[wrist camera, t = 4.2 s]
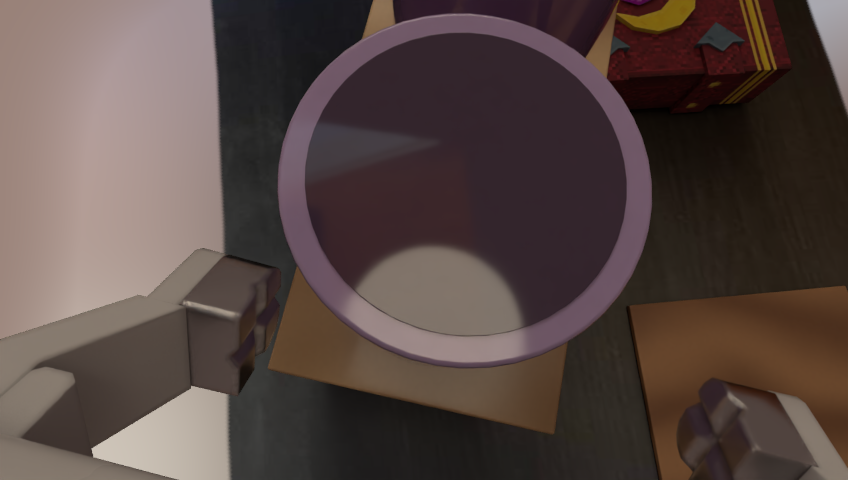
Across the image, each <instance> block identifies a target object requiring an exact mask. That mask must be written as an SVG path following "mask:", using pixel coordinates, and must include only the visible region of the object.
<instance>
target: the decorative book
mask: <svg viewBox="0 0 848 480" xmlns="http://www.w3.org/2000/svg"><path fill="white" fill-rule="evenodd" d="M791 69H792V66H791V63H790V59H789V56H788V52H787V49H786V45H785V42H784V38H783V34H782V31H781V27H780V24H779V20H778V17H777V13H776V10H775V6H774V3H773V0H620V1H619V3H618V5H617V12H616V18H615V25H614V32H613V39H612V45H611V52H610V59H609V66H608V73H607V79H608V81H609V82H610V83H611V84H612V86H613V87H614V88H615V90H616V91H617V92H618V94H619V95H620V96H621V97H622V99H623V101H624V102H625V104H626V106H627V107H628V109H629V110H630V109H647V108H664V107H669V111H670V113H685V112H701V111H703V110H704V109H705V108H706V107H707V106H708V105H714V104H731V103H747V102H750V101H751V100H753V99H754V98H755V97H756V96H758V95H759V94H760V93H761V92H763V91H764V90H765V89H767V88H768V87H769V86H770V85H772V84H773V83H774V82H775V81H777V80H778V79H779V78H781V77H782V76H783V75H784V74H786V73H787V72H788V71H790V70H791Z"/></svg>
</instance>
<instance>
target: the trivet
mask: <svg viewBox="0 0 848 480" xmlns="http://www.w3.org/2000/svg"><path fill="white" fill-rule="evenodd" d="M627 310H628V316H629V321H630V326H631V332H632V337H633V342H634V347H635V353H636V358H637V363H638V369H639V374H640V379H641V385H642V390H643V395H644V401H645V406H646V411H647V417H648V422H649V427H650V433H651V438H652V443H653V449H654V454H655V459H656V465H657V470H658V475H659V480H689V478H690V476H691V474H692V472H693V471H692V470H691V469H690V468H689V467H688V466H687V465H686V464H685V463H684V462H683V460H682V459H681V458H680V455H679V451H678V448H677V441H676V432H677V427H678V422H679V419H680V418H681V416H682V414H683V413H684V411H685V410H686V408H687V407H690V406H692V405H694V404H697V403H699V402H700V398H699V394H698V391H699V389H700V388H701V386H702V385H703V384H704V382H706V381H707V380H709V379H711V378H717V379H721V380H725V381H729V382H733V383H737V384H741V385H745V386H749V387H753V388H757V389H761V390H765V391H768V390H769V391H773V392H778V393H782V394H787V395H791V396H795V397H798V398H799V399H801V400H802V401H803V402H804V403H806V405H807V406H808V408H809V409H810V411H811V412H812V414H813V415H814V417H815V419H816V420H817V422H818V423H819V425H820V426H821V428H822V429H823V431H824V432H825V434H826V435H827V437H828V439H829V440H830V442H831V443H832V445H833V446H834V448H835V449H836V451H837V452H838V454H839V456H840V457H841V459H842V460H843V462H844V463H845V465H846V466H847V468H848V292H847V289H846V286H837V287H826V288H815V289H804V290H793V291H782V292H771V293H760V294H749V295H739V296H728V297H717V298H706V299H695V300H684V301H673V302H662V303H651V304H640V305H630V306H627Z"/></svg>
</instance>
